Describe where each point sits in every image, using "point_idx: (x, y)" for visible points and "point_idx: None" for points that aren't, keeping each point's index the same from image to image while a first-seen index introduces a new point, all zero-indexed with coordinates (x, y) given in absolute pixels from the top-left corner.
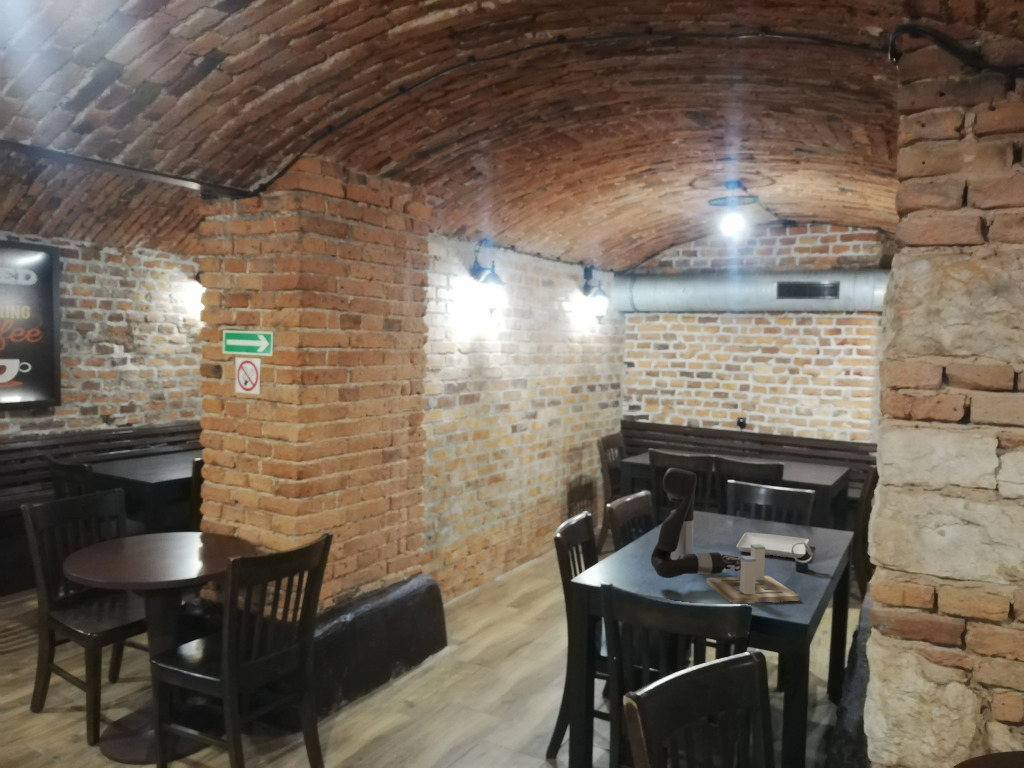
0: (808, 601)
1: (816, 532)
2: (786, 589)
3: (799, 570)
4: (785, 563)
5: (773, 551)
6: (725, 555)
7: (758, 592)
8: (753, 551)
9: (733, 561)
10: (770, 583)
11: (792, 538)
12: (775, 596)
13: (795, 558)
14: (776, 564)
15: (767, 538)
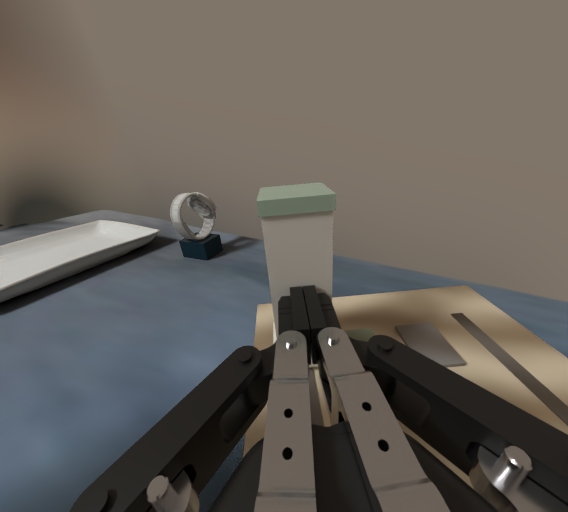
0: (443, 284)
1: (72, 220)
2: (410, 297)
3: (211, 254)
4: (150, 262)
5: (94, 256)
6: (131, 477)
7: (565, 418)
8: (304, 234)
9: (424, 460)
10: (349, 321)
11: (72, 229)
12: (558, 352)
13: (192, 234)
14: (143, 274)
15: (16, 251)
